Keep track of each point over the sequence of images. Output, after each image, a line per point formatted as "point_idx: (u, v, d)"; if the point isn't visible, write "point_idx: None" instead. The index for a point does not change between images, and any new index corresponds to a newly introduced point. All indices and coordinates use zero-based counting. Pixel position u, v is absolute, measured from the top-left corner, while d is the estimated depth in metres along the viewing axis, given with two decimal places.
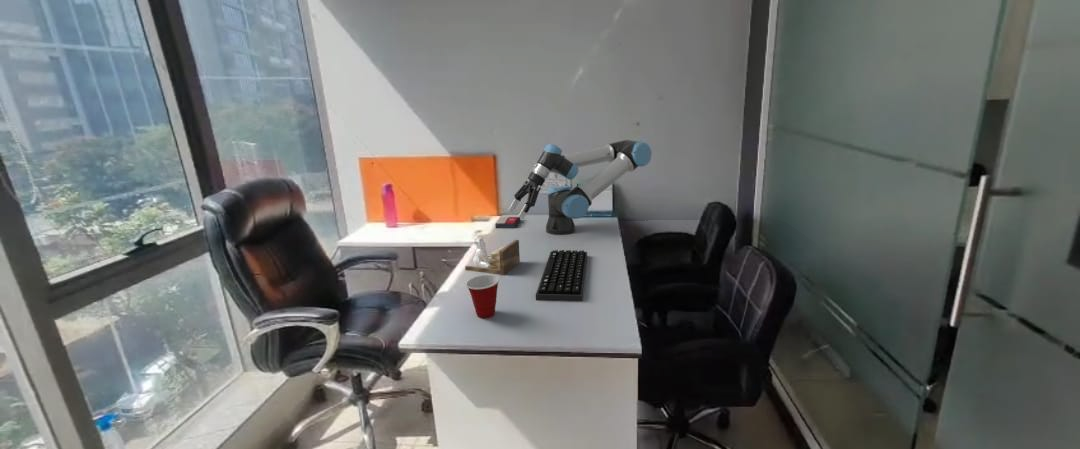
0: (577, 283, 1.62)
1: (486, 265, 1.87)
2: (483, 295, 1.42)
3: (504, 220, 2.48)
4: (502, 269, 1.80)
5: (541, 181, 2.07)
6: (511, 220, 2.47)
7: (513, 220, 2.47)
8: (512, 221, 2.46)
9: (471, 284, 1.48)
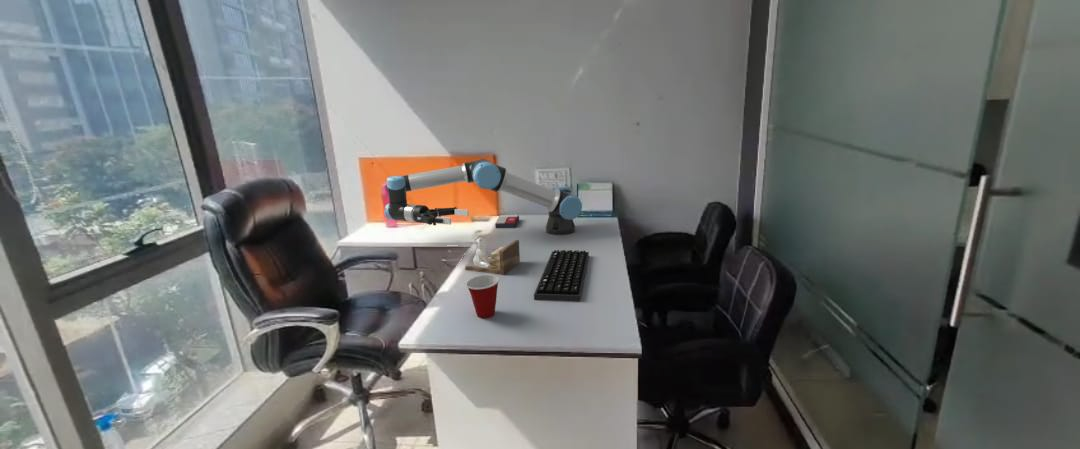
0: (576, 283, 1.62)
1: (486, 265, 1.87)
2: (483, 295, 1.42)
3: (504, 220, 2.48)
4: (502, 269, 1.80)
5: (416, 213, 1.94)
6: (511, 220, 2.48)
7: (513, 220, 2.48)
8: (512, 221, 2.46)
9: (471, 284, 1.48)
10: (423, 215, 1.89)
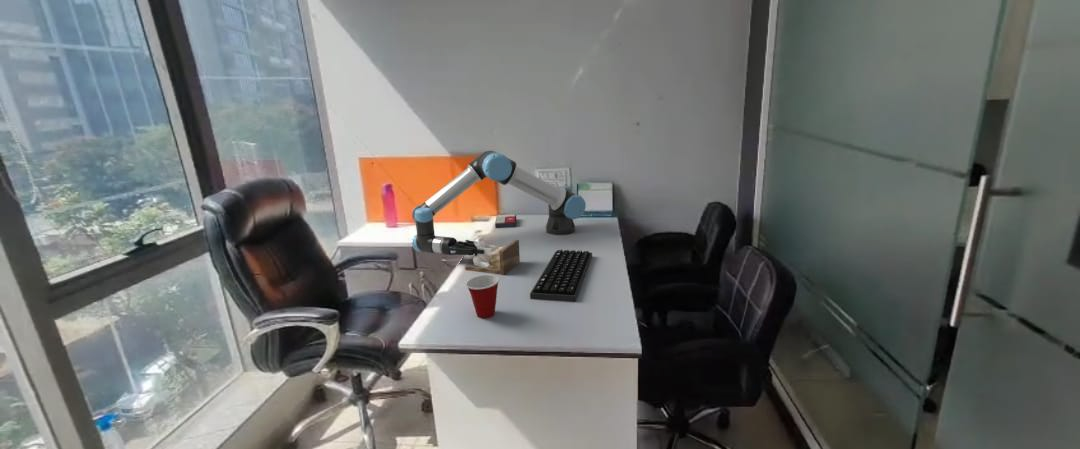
0: (573, 283, 1.62)
1: (486, 265, 1.87)
2: (483, 295, 1.42)
3: (503, 220, 2.49)
4: (502, 269, 1.80)
5: (444, 245, 1.92)
6: (510, 219, 2.49)
7: (512, 219, 2.49)
8: (511, 220, 2.47)
9: (471, 284, 1.48)
10: (457, 248, 1.89)
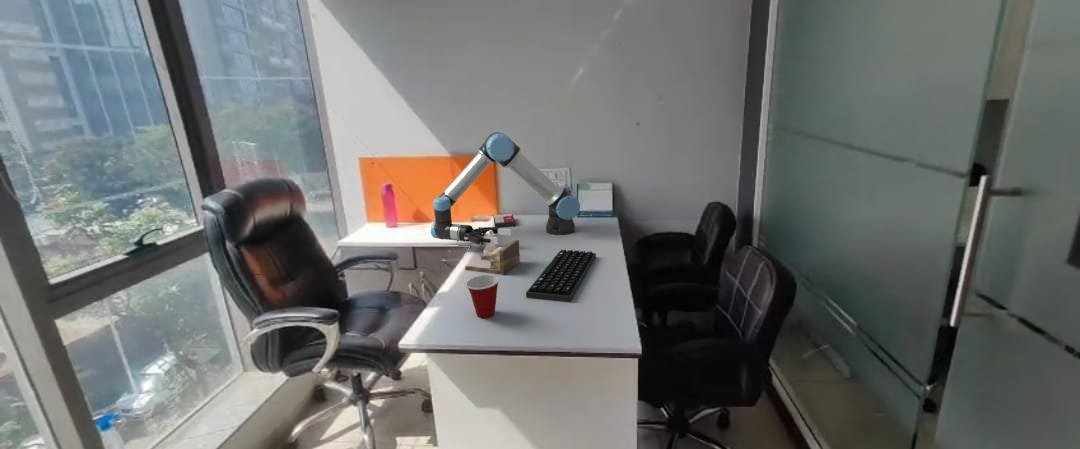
0: (570, 284, 1.61)
1: None
2: (483, 295, 1.42)
3: (502, 219, 2.49)
4: (502, 269, 1.80)
5: (462, 232, 2.04)
6: (509, 219, 2.50)
7: (511, 219, 2.50)
8: (511, 220, 2.48)
9: (471, 284, 1.48)
10: (470, 235, 2.00)
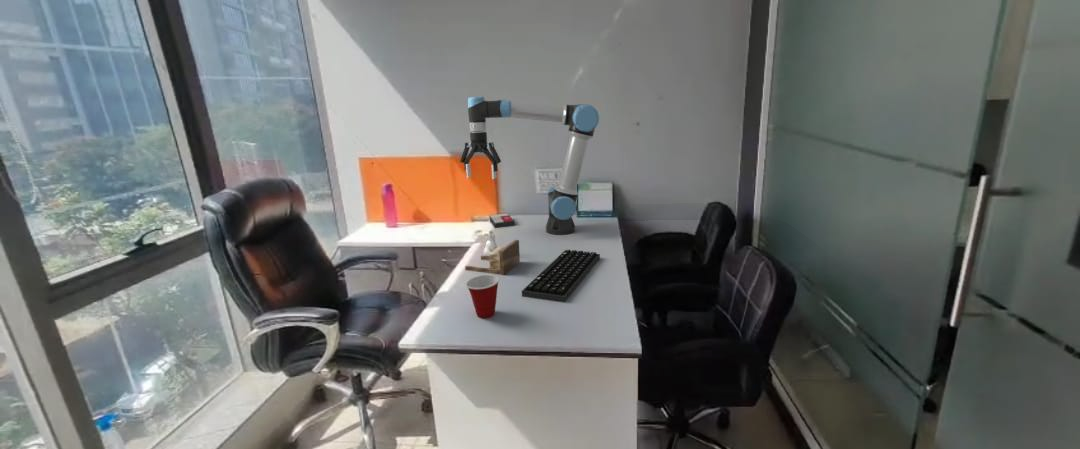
0: (566, 284, 1.61)
1: None
2: (483, 294, 1.42)
3: (500, 219, 2.50)
4: (502, 269, 1.80)
5: (486, 136, 2.08)
6: (507, 218, 2.51)
7: (509, 218, 2.51)
8: (509, 219, 2.50)
9: (471, 284, 1.48)
10: None
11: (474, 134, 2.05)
